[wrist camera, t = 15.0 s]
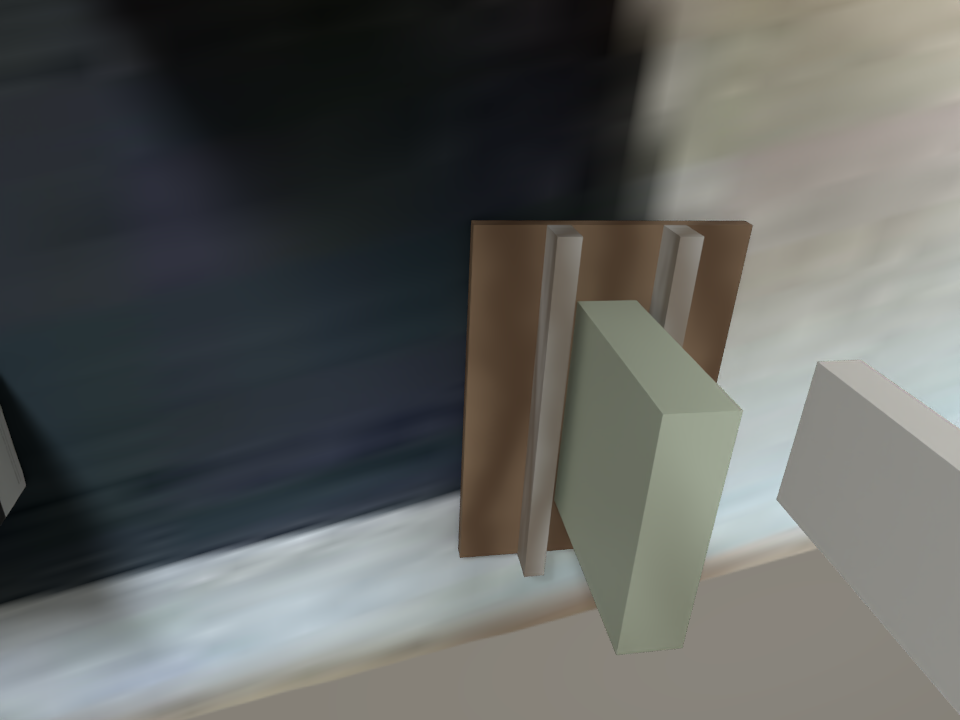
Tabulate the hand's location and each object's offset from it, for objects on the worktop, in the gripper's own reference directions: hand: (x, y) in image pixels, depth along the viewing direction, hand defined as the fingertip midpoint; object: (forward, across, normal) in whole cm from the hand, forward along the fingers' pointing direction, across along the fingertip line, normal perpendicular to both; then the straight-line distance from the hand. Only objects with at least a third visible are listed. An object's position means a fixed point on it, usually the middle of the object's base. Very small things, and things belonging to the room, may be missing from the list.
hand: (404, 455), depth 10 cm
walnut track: (+31, +15, -18) cm, 39 cm away
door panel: (+30, +15, -18) cm, 38 cm away
